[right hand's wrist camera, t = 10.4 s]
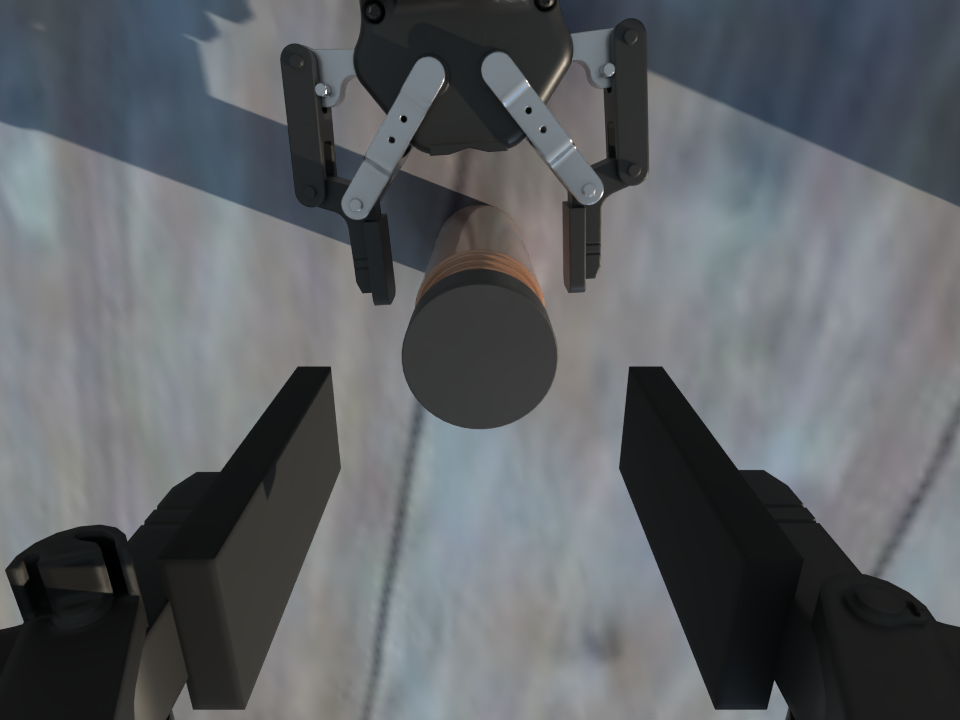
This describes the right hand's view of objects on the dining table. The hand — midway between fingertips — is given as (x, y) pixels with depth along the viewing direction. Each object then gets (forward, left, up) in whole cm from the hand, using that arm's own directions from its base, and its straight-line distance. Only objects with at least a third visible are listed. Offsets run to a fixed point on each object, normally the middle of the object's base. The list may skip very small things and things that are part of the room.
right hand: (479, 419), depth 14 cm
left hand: (0, -1, -14) cm, 14 cm away
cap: (0, 0, -4) cm, 4 cm away
